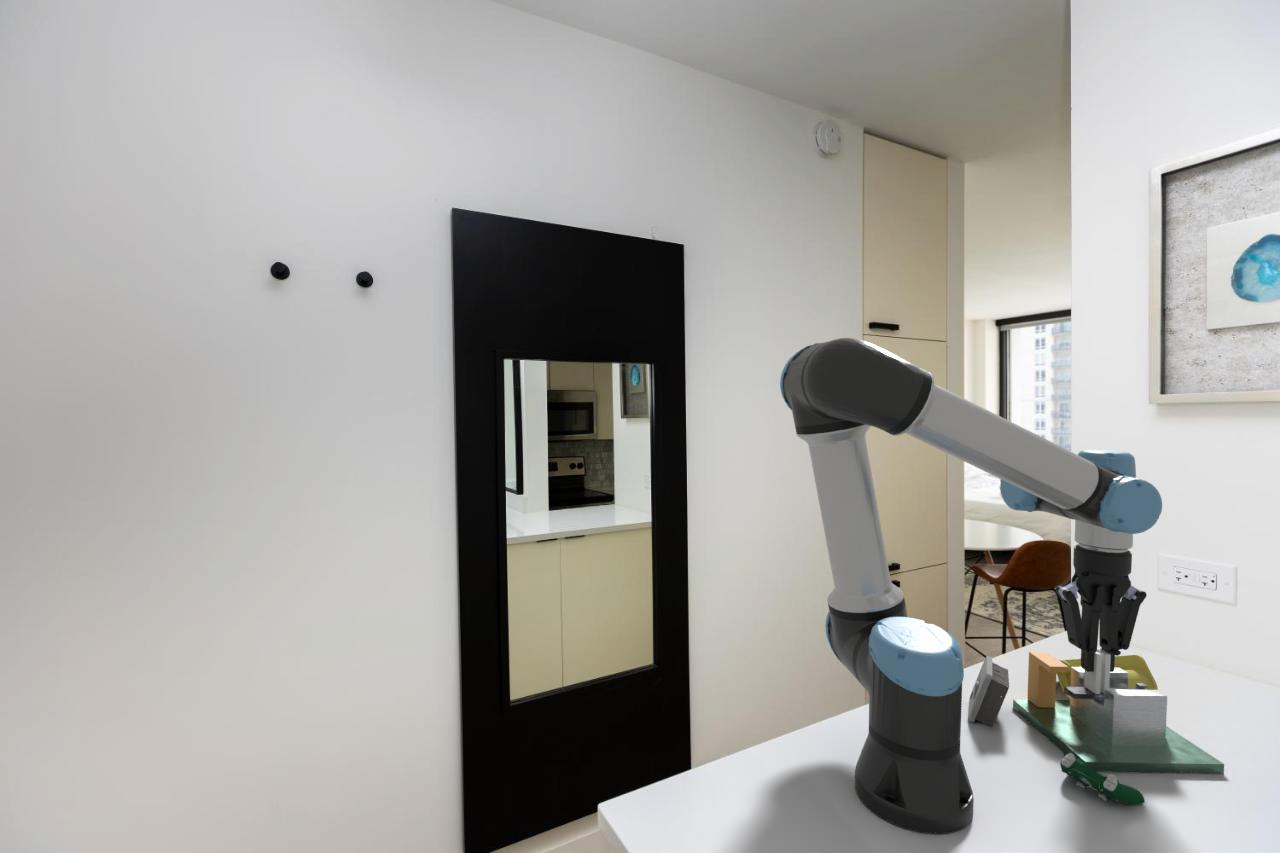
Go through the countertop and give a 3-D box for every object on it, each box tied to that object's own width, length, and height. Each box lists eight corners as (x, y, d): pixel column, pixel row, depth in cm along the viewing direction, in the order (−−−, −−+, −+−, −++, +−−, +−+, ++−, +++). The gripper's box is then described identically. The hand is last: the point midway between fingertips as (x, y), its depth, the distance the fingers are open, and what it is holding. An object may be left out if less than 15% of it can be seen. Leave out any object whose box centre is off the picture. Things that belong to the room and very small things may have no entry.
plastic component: (1098, 657, 128) (1147, 653, 119) (1111, 697, 125) (1162, 696, 116) (1023, 663, 122) (1070, 659, 113) (1035, 704, 119) (1084, 704, 110)
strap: (1074, 699, 101) (1074, 693, 101) (1063, 691, 103) (1064, 685, 103) (1160, 702, 100) (1160, 695, 100) (1147, 694, 103) (1148, 688, 103)
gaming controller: (1066, 784, 93) (1048, 763, 91) (1078, 762, 94) (1060, 741, 92) (1136, 823, 85) (1117, 801, 83) (1148, 798, 86) (1130, 776, 84)
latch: (1048, 716, 106) (1050, 666, 105) (1027, 698, 112) (1028, 651, 111) (1066, 716, 106) (1068, 666, 105) (1044, 699, 112) (1046, 651, 111)
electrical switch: (969, 700, 115) (976, 651, 114) (1001, 709, 112) (1008, 660, 111) (967, 723, 107) (975, 672, 106) (1002, 734, 104) (1010, 681, 103)
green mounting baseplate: (1085, 771, 93) (1087, 709, 92) (1012, 707, 112) (1014, 655, 111) (1223, 773, 92) (1226, 711, 92) (1127, 708, 111) (1129, 656, 111)
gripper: (1128, 541, 104) (1122, 680, 105) (1044, 540, 104) (1039, 678, 106) (1165, 553, 97) (1157, 702, 98) (1074, 552, 97) (1068, 700, 98)
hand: (1096, 689), depth 102 cm, fingers closed, pressing on strap
